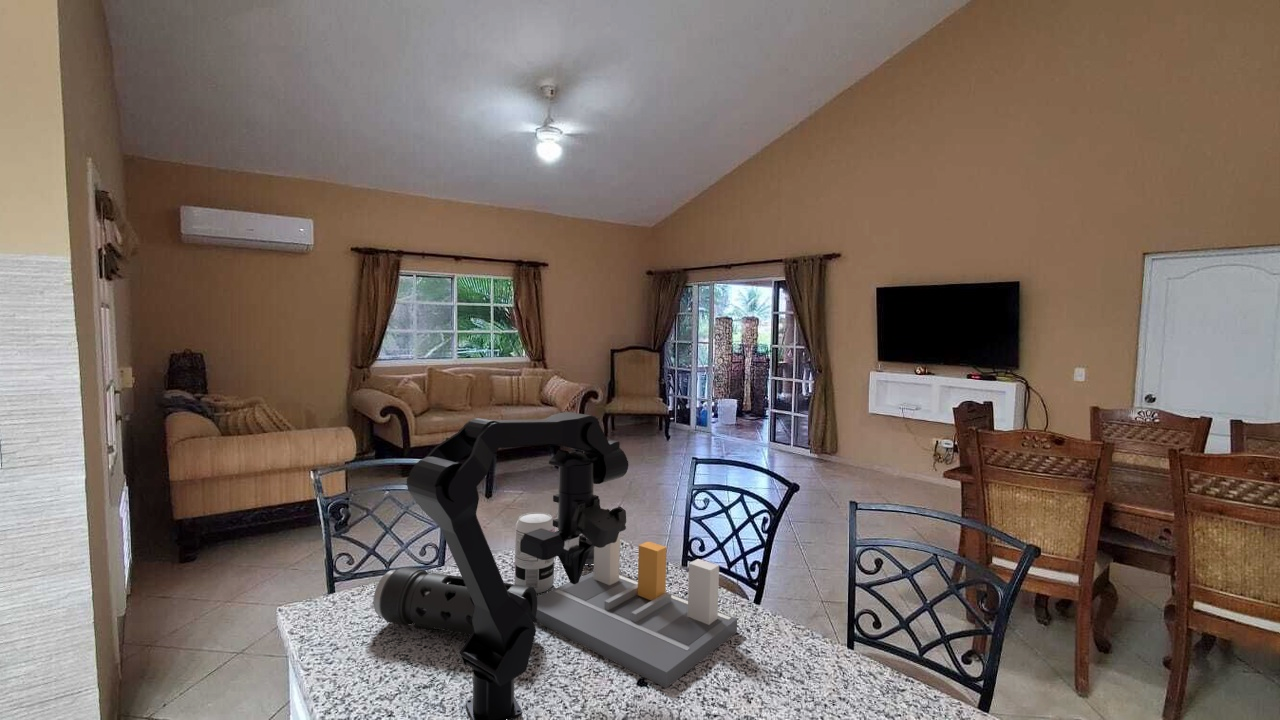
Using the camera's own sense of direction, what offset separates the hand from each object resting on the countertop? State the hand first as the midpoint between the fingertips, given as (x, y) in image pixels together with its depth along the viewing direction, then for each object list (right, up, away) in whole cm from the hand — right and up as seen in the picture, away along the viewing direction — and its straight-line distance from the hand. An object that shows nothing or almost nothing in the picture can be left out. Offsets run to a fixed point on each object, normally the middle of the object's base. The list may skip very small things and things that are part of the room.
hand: (574, 583), depth 92 cm
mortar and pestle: (-1, -12, +42) cm, 44 cm away
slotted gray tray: (+9, -13, +13) cm, 20 cm away
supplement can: (-12, -12, +27) cm, 32 cm away
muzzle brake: (-22, -13, +8) cm, 27 cm away
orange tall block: (+13, -10, +18) cm, 25 cm away
